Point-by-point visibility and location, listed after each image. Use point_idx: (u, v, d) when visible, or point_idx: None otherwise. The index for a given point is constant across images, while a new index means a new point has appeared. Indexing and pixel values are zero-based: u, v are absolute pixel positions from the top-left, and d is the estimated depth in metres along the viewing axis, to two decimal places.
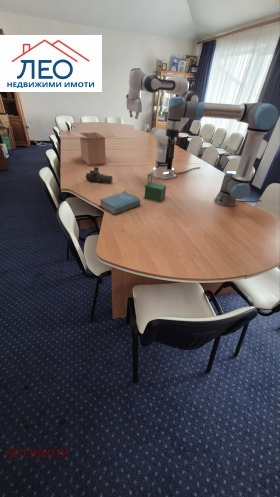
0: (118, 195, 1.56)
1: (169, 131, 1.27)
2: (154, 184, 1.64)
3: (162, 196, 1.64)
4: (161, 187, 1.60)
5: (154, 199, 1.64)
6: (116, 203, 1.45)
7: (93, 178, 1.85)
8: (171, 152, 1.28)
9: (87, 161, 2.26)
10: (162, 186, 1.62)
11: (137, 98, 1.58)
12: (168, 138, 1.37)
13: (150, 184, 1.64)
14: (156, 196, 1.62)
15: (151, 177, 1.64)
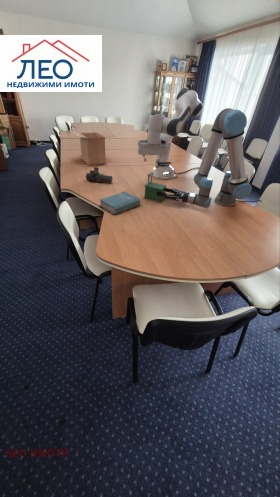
0: (118, 195, 1.56)
1: None
2: (154, 184, 1.64)
3: None
4: (161, 187, 1.60)
5: (154, 199, 1.64)
6: (116, 203, 1.45)
7: (93, 178, 1.85)
8: None
9: (87, 161, 2.26)
10: (162, 186, 1.62)
11: None
12: None
13: (150, 184, 1.64)
14: (156, 196, 1.62)
15: (151, 177, 1.64)
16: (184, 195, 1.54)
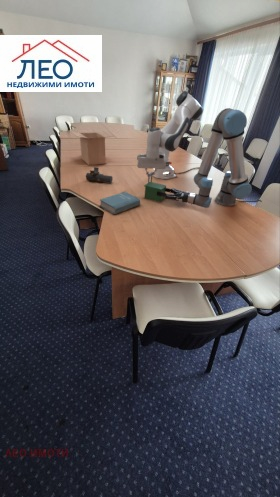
0: (118, 195, 1.56)
1: None
2: (154, 184, 1.64)
3: None
4: (161, 187, 1.60)
5: (154, 199, 1.64)
6: (116, 203, 1.45)
7: (93, 178, 1.85)
8: None
9: (87, 161, 2.26)
10: (162, 186, 1.62)
11: None
12: None
13: (150, 184, 1.64)
14: (156, 196, 1.62)
15: (151, 177, 1.64)
16: (184, 195, 1.54)
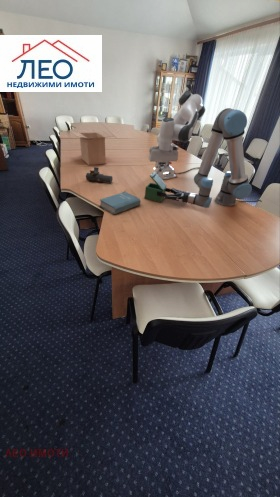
0: (118, 195, 1.56)
1: None
2: (158, 178, 1.60)
3: None
4: (163, 186, 1.59)
5: (154, 199, 1.64)
6: (116, 203, 1.45)
7: (93, 178, 1.85)
8: None
9: (87, 161, 2.26)
10: (163, 185, 1.61)
11: None
12: None
13: (155, 176, 1.58)
14: (157, 196, 1.62)
15: None
16: (184, 195, 1.54)
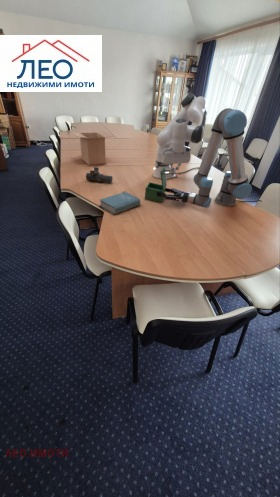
0: (118, 195, 1.56)
1: None
2: (164, 176, 1.56)
3: None
4: (164, 186, 1.58)
5: (155, 199, 1.63)
6: (116, 203, 1.45)
7: (93, 178, 1.85)
8: None
9: (87, 161, 2.26)
10: (165, 185, 1.60)
11: None
12: None
13: (163, 173, 1.53)
14: (157, 196, 1.61)
15: (170, 170, 1.53)
16: (184, 195, 1.54)
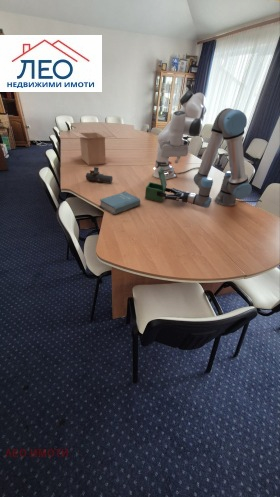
0: (118, 195, 1.56)
1: None
2: (163, 176, 1.57)
3: None
4: (164, 186, 1.58)
5: (155, 199, 1.64)
6: (116, 203, 1.45)
7: (93, 178, 1.85)
8: None
9: (87, 161, 2.26)
10: (165, 185, 1.60)
11: None
12: None
13: (161, 173, 1.54)
14: (157, 196, 1.62)
15: (168, 169, 1.54)
16: (184, 195, 1.54)
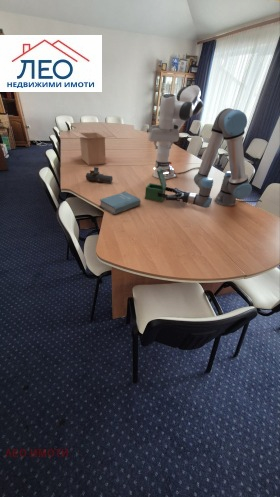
0: (118, 195, 1.56)
1: None
2: (162, 176, 1.59)
3: None
4: (164, 186, 1.59)
5: (155, 199, 1.64)
6: (116, 203, 1.45)
7: (93, 178, 1.85)
8: None
9: (87, 161, 2.26)
10: (164, 184, 1.61)
11: None
12: (177, 200, 1.55)
13: (160, 173, 1.56)
14: (157, 196, 1.62)
15: (167, 169, 1.56)
16: (184, 195, 1.54)
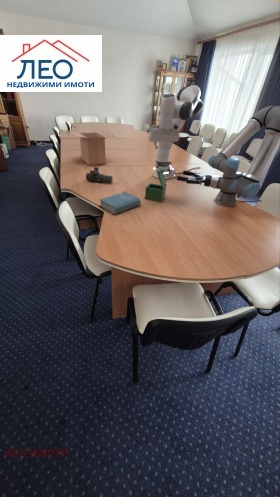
0: (118, 195, 1.56)
1: None
2: (162, 176, 1.59)
3: (163, 196, 1.64)
4: (164, 186, 1.59)
5: (155, 199, 1.64)
6: (116, 203, 1.45)
7: (93, 178, 1.85)
8: None
9: (87, 161, 2.26)
10: (164, 184, 1.61)
11: None
12: None
13: (160, 173, 1.56)
14: (157, 196, 1.62)
15: (167, 169, 1.56)
16: (207, 178, 1.42)
